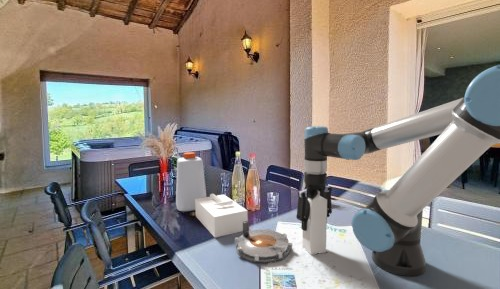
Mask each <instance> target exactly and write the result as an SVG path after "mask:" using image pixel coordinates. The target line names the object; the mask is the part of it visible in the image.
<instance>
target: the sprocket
mask: <svg viewBox="0 0 500 289" xmlns="http://www.w3.org/2000/svg"><path fill="white" fill-rule="evenodd" d="M237 243H238V248H237V251H236V254H237V255H238V254H241V253H242V254H244V255H246V256H248V257H251V258H255V260H256V261H259V259H271V258H276V257H277V258H278V259H280V258H282V255H283V254H285V253H286V252H287V250H288V249H290V250H293V242H289V239H288V234H286V233H285V232H284V233H281V232H278V231H274V230H270V228H265V229H255V230H250V221H244V222H243V231H242V234H241V235H240V236H239V237H236V236H235V238H234V244H237Z"/></svg>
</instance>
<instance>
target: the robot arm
mask: <svg viewBox="0 0 500 289" xmlns="http://www.w3.org/2000/svg"><path fill="white" fill-rule="evenodd" d="M438 135H439V136H438ZM434 136H437V138H436V139H435V140H434V141H433V142H432V143H431V144H430V145H429V146H428V147H427V148H426V150H425V151H424V152H423V153H422V154H421V155H420V156H419V157H418V158H417V160H415V161H414V163H412V164H411V165H410V167H409V168H408V169H407V170H406V171H405V173H403V175H402V176H400V178H399V179H398V180H397V181H396V182H395V183H394V185H392V186H391V187H390V189H384V190H382V191H380V192H378V193H377V194H376V195H375V196H374V197H373V198H372V199H371V200H370V202H369V203H368V204H367V205H366V206H365V207H363V208H361V209H359V210H357V211H356V212H355V213H354V215H353V216H352V218H351V227H352V231H353V232H352V233H353V235H354V236H355V238H356V239H357V241H358V243H360V244H361V246H363V247H364V248H366V249H368V250H370V251H371V260H372V262H373V263H374V264H375V265H376V266H377V267H379V268H380V269H382V270H384V271H386V272H389V273H392V274H396V275H399V276H405V277H417V276H420V275H422V274H424V273H425V272H426V267H427V263H426V262H427V261H426V258H425V254H424V252H423V248H422V246H421V245H422V244H421V240H422V239H421V237H422V226H423V225H422V224H423V211H424V209H425V208H426V207H428V206H429V205H430V204H431V202H433V201H434V200H436V198H437V197H438V196H439V195H440V194H441V193H443V192H444V191H445V190H446V189H447V188H448V186H450V185H451V184H452V183H453V182H454V181H455V180H456V179H458V178H459V176H461V175H462V174H463V173H464V172H465V171H466V170H467V169H468V168H470V166H471V165H472V164H474V162H476V161H477V160H478V159H479V158H480V157H481V156H482V155H484V153H485V152H486V151H488V150H489V149H490V148H491V147H492V146H494V145H497V144H498V145H499V144H500V64H497V65H494V66H491V67H489V68H487V69H485V70H483V71H482V72H480V73H479V74H477V75H476V76H475V77H474V78H473V79H472V80H471V82H470V83H469V85H468V86H467V87H466V90H465V94H464V97H460V98H459V99H455V100H452V101H449V102H447V103H443V104H441V105H438V106H434V107H431V108H429V109H426V110H423V111H420V112H416V113H414V114H410V115H408V116H404V117H402V118H397V119H396V120H393V121H390V122H387V123H384V124H381V125H377V126H375V127H372V128H369V129H366V130H363V131H359V132H350V133H349V132H348V133H332V132H331V133H330V132H329V128H328V127H327V126H321V125H316V126H315V125H314V126H312V125H311V126H308V127H306V128H305V130H304V138H303V139H304V159H303V160H304V163H303V164H304V167H303V168H304V172H303V173H304V174H303V180H304V189H303V190H298V191H297V210H296V220H298V221H301V226H300V227H301V230H302V239H303V238H305V239H306V240H310V221H308V219H309V215H310V203H309V201H308V198H307V197H309V198H312V200H313V199H314V198H315V197H316V195H317V193H318V191H320V196H321V197H323V198H325V199H327V218H330V216H331V214H332V212H333V209H332V208H333V207H332V206H333V205H332V204H333V203H332V191H333V188H332V186H329V185H326V184H327V183H328V181H327V180H328V177H327V176H328V173H327V171H328V157H331V158H335V159H344V160H346V161H347V160H348V161H350V160H351V161H358V160H360V159H361V158H362V157H363V156H364V155H368V154H373V153H375V152H379V151H381V150H386V149H389V148H392V147H397V146H401V145H404V144H407V143H411V142H416V141H420V140H425V139H427V138H431V137H434ZM317 190H318V191H317Z"/></svg>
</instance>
